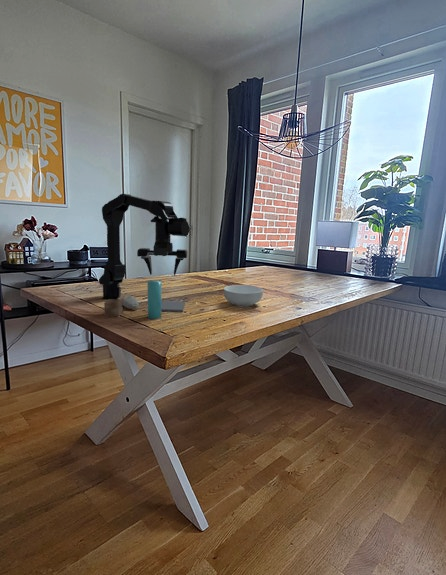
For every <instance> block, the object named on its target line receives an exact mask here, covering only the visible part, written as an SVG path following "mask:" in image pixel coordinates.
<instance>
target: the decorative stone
mask: <svg viewBox="0 0 446 575" xmlns="http://www.w3.org/2000/svg"><path fill="white" fill-rule="evenodd" d="M121 300H122V307H124V308H126V309H128V310H133V311H135V310H137V309H138V308H139V306H140V305H139V304H140V303H139V300H138V299H137V298H136V297H134V296H133V295H131V294H130V295H129V294H128V295H124V296H123V297H122V298H121Z"/></svg>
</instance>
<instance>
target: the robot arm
mask: <svg viewBox="0 0 446 575" xmlns="http://www.w3.org/2000/svg"><path fill="white" fill-rule="evenodd" d="M131 206H132V207H135V208H138V209H142V210H145V211H147V212H149V213H150V214H152V215H153V216H154V217H153V218H152V219H150V223H155V224H154V225H155V226H154V227H155V228H154V229H155V238H154V239H155V241H154V243H153V246H152V248H153V250H152V249H151V248H149V247H140V248H139V249H137V251H136V252H137V253H136V254H137V255H136V256H137V257H140V260H141V259H142V260H143V261H144V262H145V264H146V265H147V266H146V267H147V269H148V272H149V275H150V276H151V275H153V267H152V266H153V265H152V256H155V257H159V256H162V257H166V256H168V257H171V256H172V257H174V256H175V257H176V258H175V259H174V260H175V261H174V270H173V276H176V273H177V271H178V269H179V268H178V267H179V265H180V263H181V261H184V260H185V259H187V258H188V250H187V249H176V250H174V246H173V242H171V236H173V237H174V236H175V237H176V236H177V237H187V236H188V235H189V233H190V231H191V230H190V229H191V228H190V224H189V222H188V221H187V220H188V219H187V217H178V215H177V213H176V212H175V209H174V206H173V204H172V202H170V201H164V200H149V199H146V198H142V197H138V196H134V195H131V194H130V193H129V194H128V193H121V194H119V195H118V196H117V197H115V198H113V199H111V200H109V201H108V202H107V203H104V205H103V206H102V207H101V214H102V220H103V221H104V224H105V225H106V234H107V235H106V236H107V237H106V238H107V242H106V243H107V261H106V263H105V265H104V269H103V274H102V275H101V276H100V278H98V282H99V285H101V286H102V297H101V300H103V299H104V300H108V299H114V300H119V298H120V297H121V296H122V290H121V287H122V286H120V284H122V283H123V280H124V278H125V275H126V274H127V271H126V263H125V264H124V263H122V261H121V244H120V243H121V236H120V235H121V234H120V232H121V231H120V227H121V226H120V225H121V224H122V222H123V221H124V214H125V213H126V212H127V211H128V210H129V207H131Z"/></svg>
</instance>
